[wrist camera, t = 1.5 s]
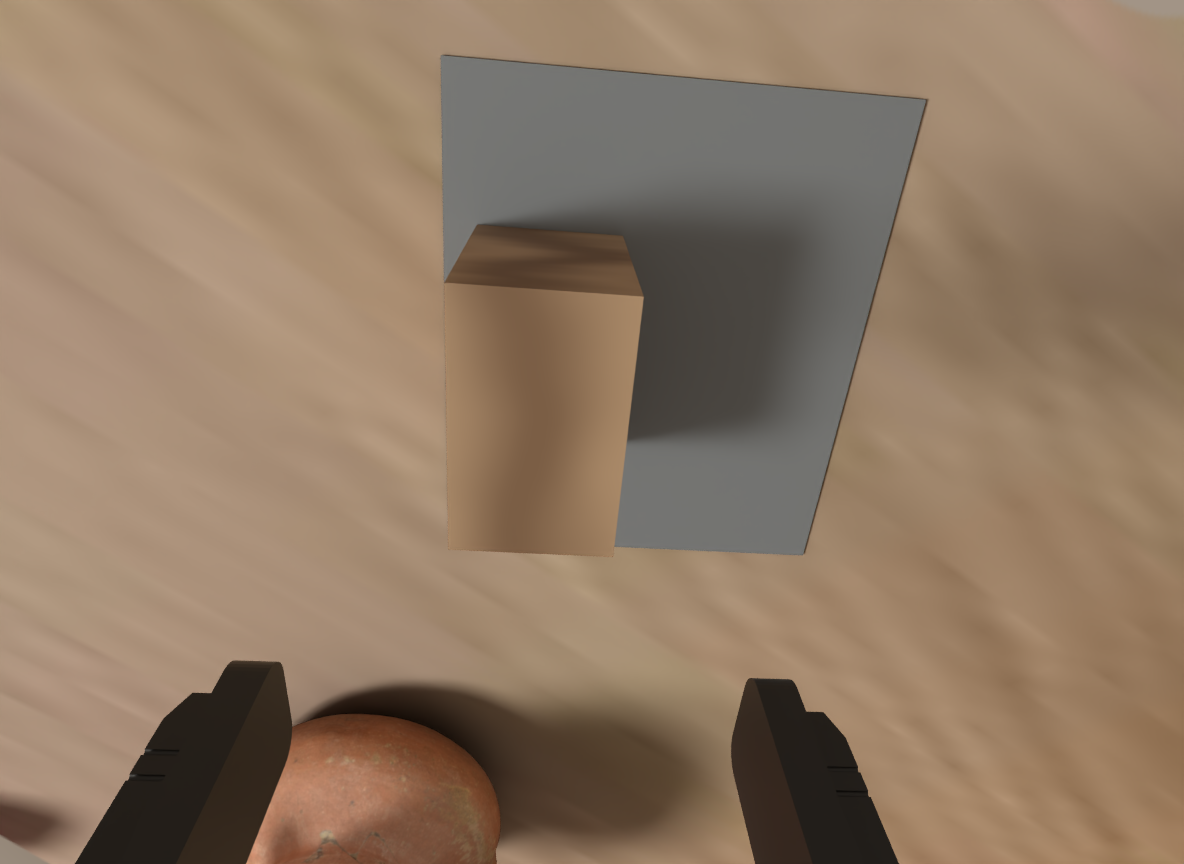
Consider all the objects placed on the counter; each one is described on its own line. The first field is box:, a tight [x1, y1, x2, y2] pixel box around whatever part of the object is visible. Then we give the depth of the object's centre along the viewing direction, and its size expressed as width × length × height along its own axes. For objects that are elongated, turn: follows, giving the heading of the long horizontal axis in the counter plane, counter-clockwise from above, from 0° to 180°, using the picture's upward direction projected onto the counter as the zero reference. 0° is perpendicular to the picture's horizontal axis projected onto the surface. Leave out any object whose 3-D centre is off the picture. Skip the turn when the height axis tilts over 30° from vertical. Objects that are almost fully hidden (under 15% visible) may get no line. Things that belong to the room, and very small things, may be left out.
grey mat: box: [441, 55, 926, 555], centre depth 29 cm, size 17×20×1 cm
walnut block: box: [444, 225, 644, 557], centre depth 25 cm, size 6×9×8 cm, turn 175°
